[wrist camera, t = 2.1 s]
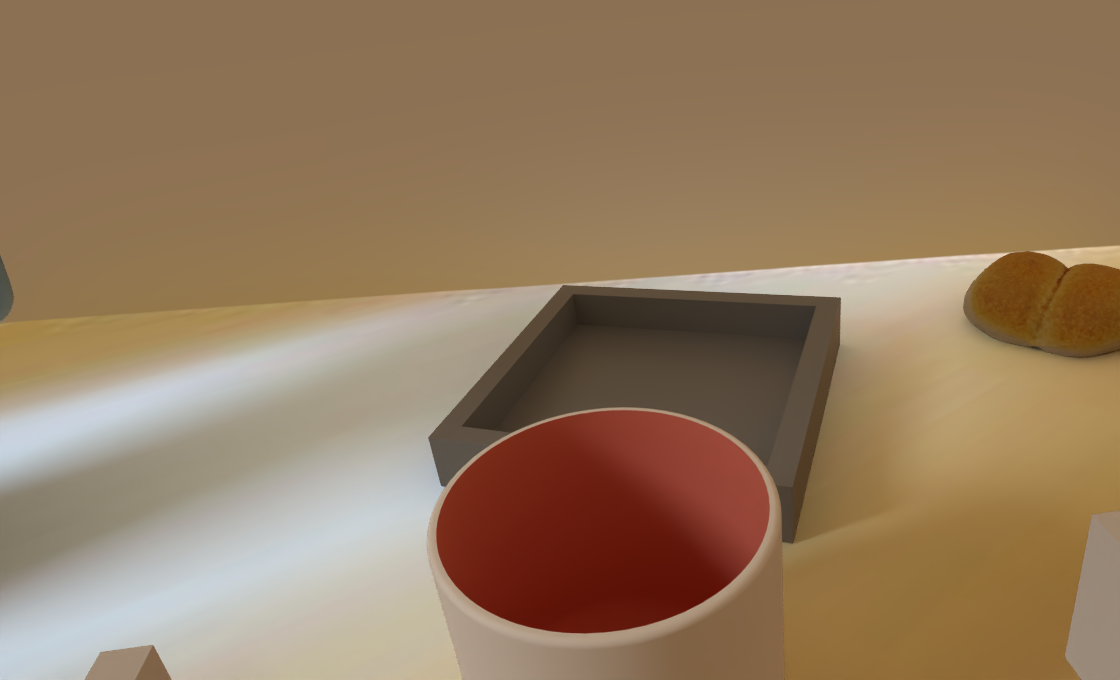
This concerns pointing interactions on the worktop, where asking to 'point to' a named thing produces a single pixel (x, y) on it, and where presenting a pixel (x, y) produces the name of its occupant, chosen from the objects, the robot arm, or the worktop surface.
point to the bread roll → (1047, 304)
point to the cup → (612, 553)
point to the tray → (665, 373)
